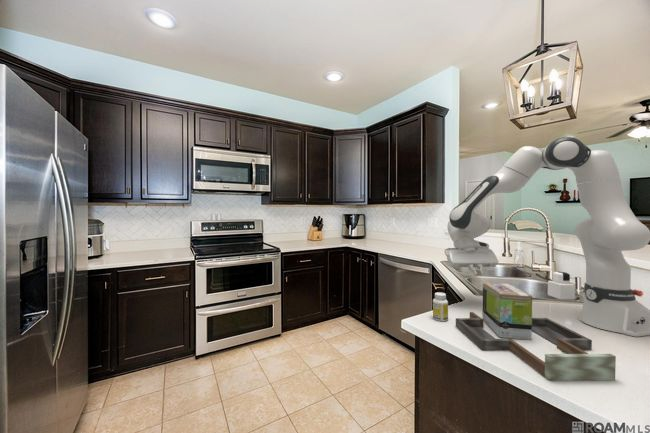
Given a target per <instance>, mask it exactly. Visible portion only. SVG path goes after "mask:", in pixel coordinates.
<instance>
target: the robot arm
mask: <svg viewBox="0 0 650 433" xmlns="http://www.w3.org/2000/svg"><path fill="white" fill-rule="evenodd" d="M540 169H548V170H553V171H558V170H564V169H568V170H569V169H570V170H571V171H572V172H573V175H574V176H575V182H576V186H577V192H578V197H579V201H580V205H581V206H582V207H583V208H584V209H585V210H586V212H587V213H588V215H589V216H590V218H587V219H583V220H581V221H580V222H578V223H577V224H576V226H575V228H574V234H575V236H576V237H577V239H578V240H579V242H580V245H581V249H582V252H583V255H584V259H585V283H584V285H583V292H584V297H583V302H582V308H581V311H580V312H579V317H578V319H579V320H580V321H581V322H582V323H585V324H586V325H589V326H591V327H594V328H598V329H601V330H605V331H609V332H614V333H619V334H623V335H627V336H632V337H637V338H638V337H644V336H645V337H646V336H650V309H649V308H648V307H647V306H645V305H643V304H642V303H641V302H639V301H638V300H637V299H636V296H637V297H642V296H644V292H643V291H642V290H638V289H632V288H631V284H632V283H631V278H632V277H631V275H632V274H631V271H632V268H631V266H630V264H629V263H628V262H627V260H626V258H625V257H624V254H623V253H622V252H623V251H624V252H626V251H636V250H640V249H643V248H644V247H646V246H647V245H648V244H649V243H650V229H649V228H648V226H646V225H645V224H643V223H642V222H641V221H640V220H639V219H638V218H637V217H636V215H635V214H634V212H633V211H632V209H631V207H630V206H629V204H628V202H627V200H626V197H625V193H624V190H623V186H622V181H621V176H620V172H619V169H618V166H617V163H616V162H615V159H614V157H613V155H612V154H611V153H610V152H609V151H607V150H604V149H603V150H602V149H595V150H591V148H590V147H588V145H586V144H584V143H583V142H582V141H581V140H580V139H578V138H575V137H573V136H565V137H558V138H556V139H555V140H552V141H551V142H550V143H549V144H548V145H546V146H545V147H543V148H537V147H536V146H531V145H525V146H522V147H520V148H518V150H517V151H515V152H514V154H512V155H511V156H510V158H509V159H508V160H506V162H505V163H504V164H503V165H502V167H500V169H499V170H498V171H496V173H494V174H492V175H490V176H488V177H486V178H485V179H483V180H482V181H481V182H480V183H479V184H478V185H477V186H476V187H475V188H474V189H473V190H472V191H471V192H470V193H469V194H468V196H467V197H466V198H464V200H462V201H461V202H460V204H458V205H456V206H455V207H453V209H452V210H451V211H450V213H449V221H447V232H448V235H449V237H450V239H451V241H452V242H453V247H447V248H445V249H444V254H445V256H446V260H447V264H448V266H449V268H467V269H468V270H469V271H470V272H471V273H472V274H473V276H475V277H476V276H477V277H479V276H481V277H482V276H483V275H484V273H483V270H482V269H483V268H495V267H496V266H497V265H498V264H499V259H498V257H497V255H496V254H495V252H494V251H493V250H492V249H491V248H490V245H489V243H487V242H483V241H479V240H476V238H478V237H480V236H482V235H484V234H486V233H487V232H488V231H489V230H490V227H491V221H490V218H489V217H488V216H486V215H485V214H483V213H480V212H478V211H476V209H477V208H478V207H479V206H480V205H482V203H483V202H484V201H485V200H486V199H488V197H490V196H491V195H495V194H511V193H515V192H518V191H520V190H521V189H522V188H524V187H525V186H526V185H527V183H528V182H530V180H531V179H532V177H533V176H534V174H536V172H538V171H539V170H540ZM475 268H476V269H475Z"/></svg>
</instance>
